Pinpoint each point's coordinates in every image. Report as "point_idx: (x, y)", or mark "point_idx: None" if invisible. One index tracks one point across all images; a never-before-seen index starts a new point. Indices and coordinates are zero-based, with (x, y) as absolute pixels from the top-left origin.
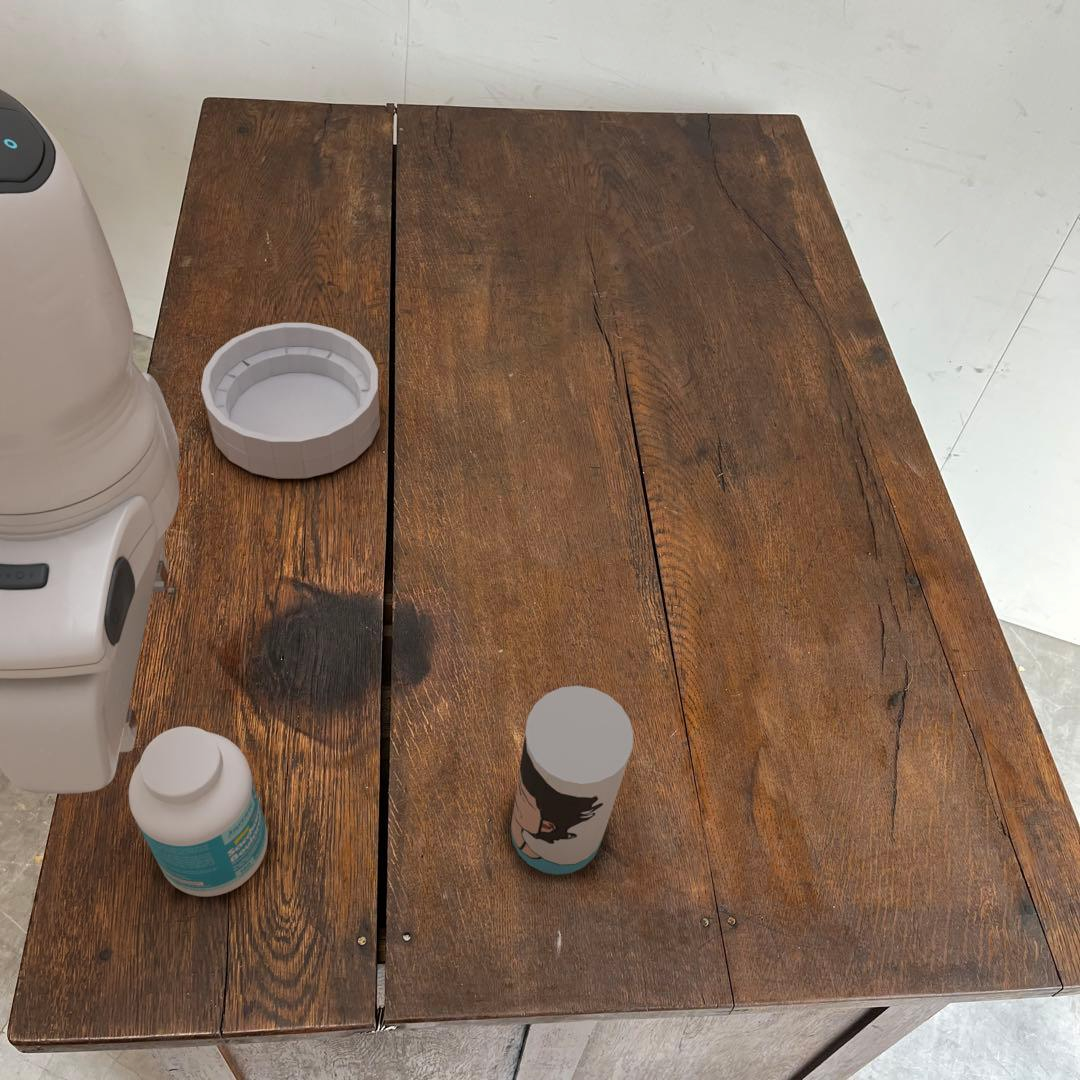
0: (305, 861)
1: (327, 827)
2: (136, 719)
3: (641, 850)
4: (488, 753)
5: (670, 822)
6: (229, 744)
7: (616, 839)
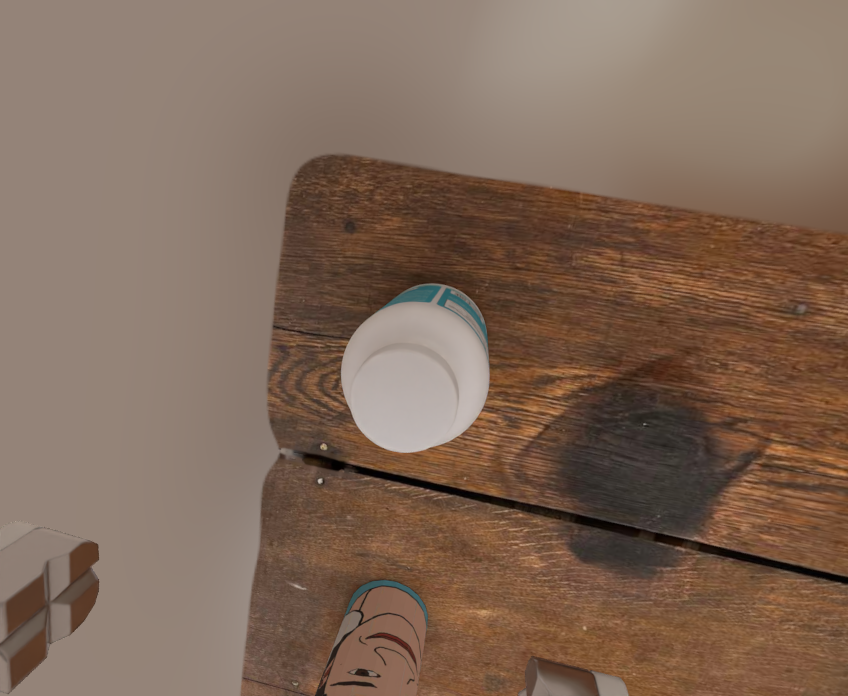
0: None
1: None
2: (63, 636)
3: None
4: (473, 585)
5: None
6: (451, 436)
7: None
